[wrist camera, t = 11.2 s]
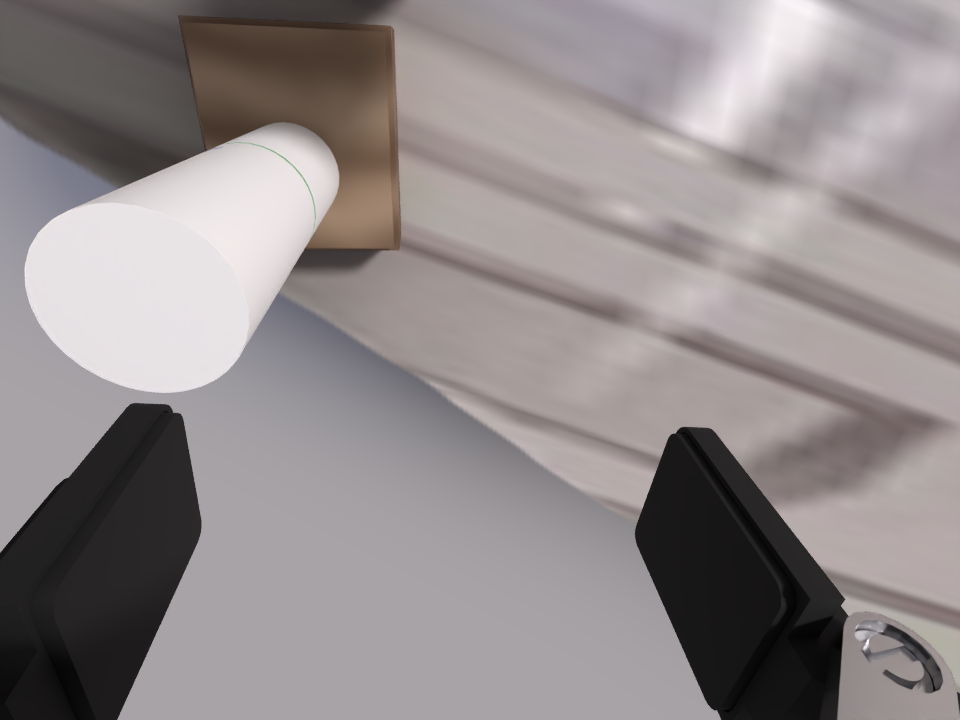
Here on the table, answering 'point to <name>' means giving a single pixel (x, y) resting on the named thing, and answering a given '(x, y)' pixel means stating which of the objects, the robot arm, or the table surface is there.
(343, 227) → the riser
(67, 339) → the cylindrical container
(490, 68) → the table surface
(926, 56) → the table surface
